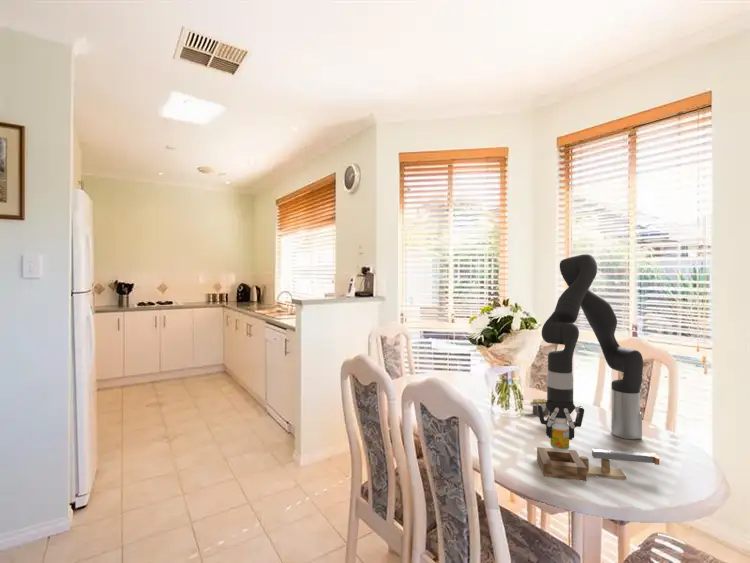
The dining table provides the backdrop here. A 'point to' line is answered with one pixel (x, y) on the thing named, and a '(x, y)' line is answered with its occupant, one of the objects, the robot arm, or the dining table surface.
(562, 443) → the supplement bottle
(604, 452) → the grey bar
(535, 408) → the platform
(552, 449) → the socket
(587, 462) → the mount
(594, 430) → the dining table surface
